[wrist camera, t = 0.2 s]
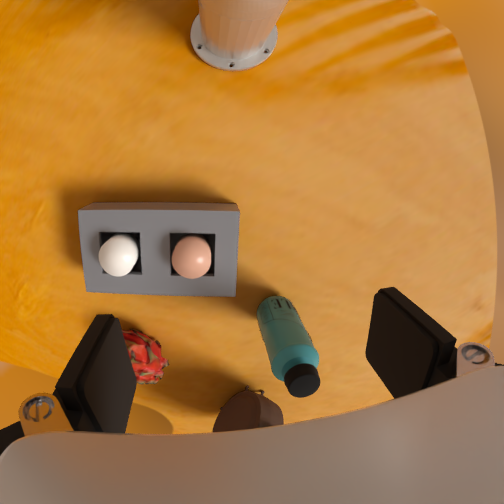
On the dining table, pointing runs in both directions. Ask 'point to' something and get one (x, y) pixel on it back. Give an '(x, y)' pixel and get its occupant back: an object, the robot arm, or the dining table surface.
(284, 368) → the beverage bottle
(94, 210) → the grey rectangular block
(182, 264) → the brown egg
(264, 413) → the alarm clock
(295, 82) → the dining table surface
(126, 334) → the dragon fruit
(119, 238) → the white rounded piece
